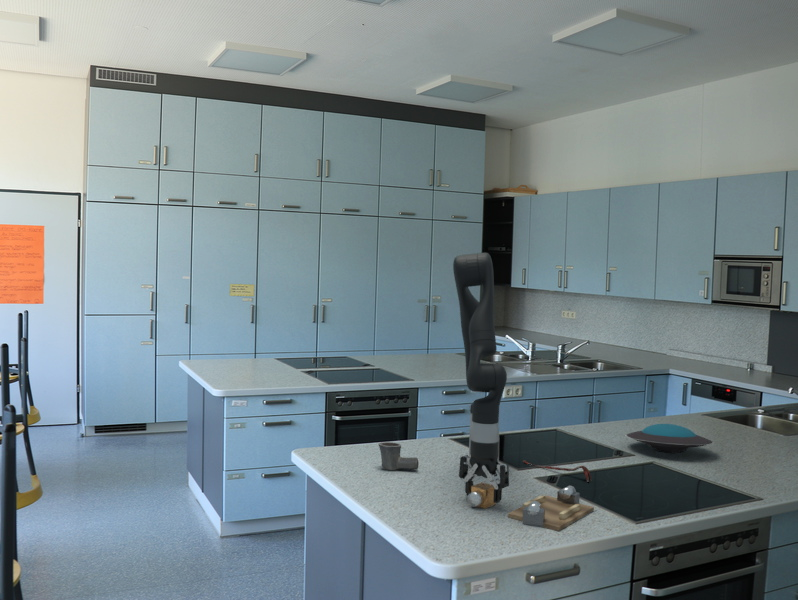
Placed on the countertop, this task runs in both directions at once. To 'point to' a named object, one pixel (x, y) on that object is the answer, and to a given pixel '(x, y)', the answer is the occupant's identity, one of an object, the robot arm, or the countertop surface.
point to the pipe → (396, 458)
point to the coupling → (481, 495)
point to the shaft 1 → (534, 514)
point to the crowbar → (586, 471)
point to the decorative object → (669, 438)
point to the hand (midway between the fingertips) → (482, 498)
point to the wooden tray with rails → (555, 512)
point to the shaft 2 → (568, 495)
